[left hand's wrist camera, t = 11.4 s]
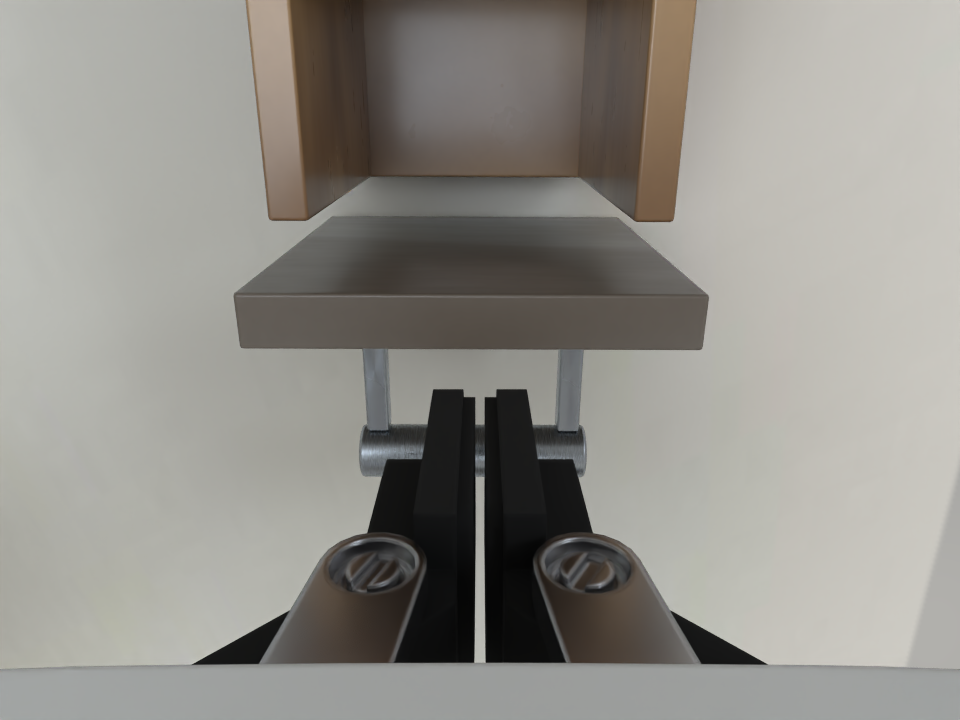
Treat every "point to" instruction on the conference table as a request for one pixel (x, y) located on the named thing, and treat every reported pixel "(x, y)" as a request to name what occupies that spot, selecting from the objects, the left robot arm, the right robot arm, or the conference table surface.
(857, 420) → the conference table surface
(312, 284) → the drawer
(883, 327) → the conference table surface
